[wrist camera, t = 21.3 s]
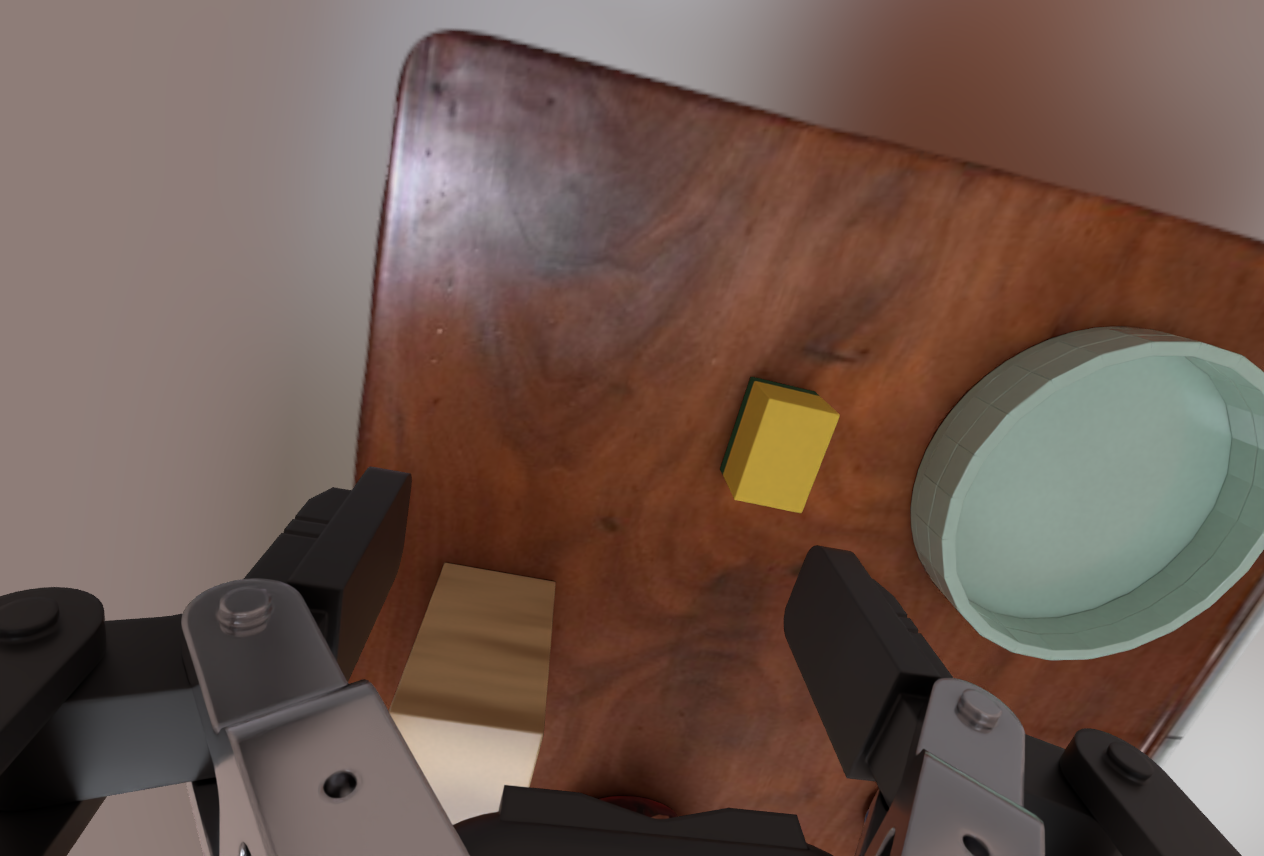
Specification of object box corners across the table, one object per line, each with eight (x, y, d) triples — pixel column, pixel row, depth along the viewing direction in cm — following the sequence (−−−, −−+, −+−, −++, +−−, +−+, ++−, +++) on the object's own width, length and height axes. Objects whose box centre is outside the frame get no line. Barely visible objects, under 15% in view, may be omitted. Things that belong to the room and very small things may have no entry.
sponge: (750, 376, 36) (769, 398, 32) (815, 391, 37) (840, 414, 33) (719, 469, 38) (733, 500, 34) (781, 482, 39) (801, 513, 35)
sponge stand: (444, 561, 39) (387, 712, 28) (555, 581, 40) (544, 734, 29) (424, 675, 42) (366, 852, 31) (528, 690, 43) (508, 867, 32)
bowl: (945, 324, 36) (987, 340, 32) (1282, 327, 37) (1359, 343, 34) (885, 623, 43) (913, 664, 39) (1167, 616, 45) (1220, 655, 41)
